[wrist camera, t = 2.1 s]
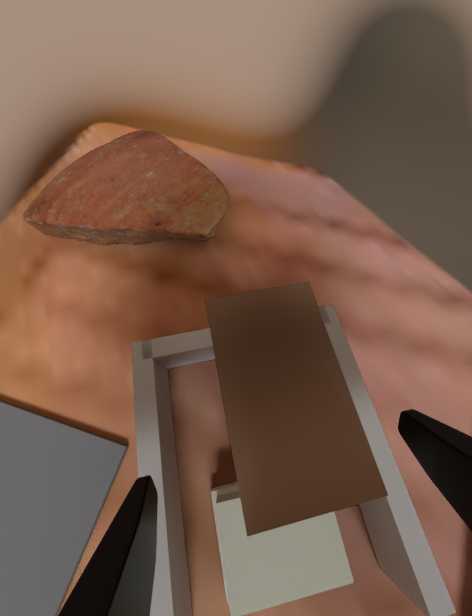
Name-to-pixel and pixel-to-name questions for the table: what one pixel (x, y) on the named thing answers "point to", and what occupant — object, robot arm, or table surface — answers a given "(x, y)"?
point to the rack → (163, 469)
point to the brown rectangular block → (288, 409)
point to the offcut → (278, 559)
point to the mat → (47, 506)
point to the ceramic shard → (131, 195)
